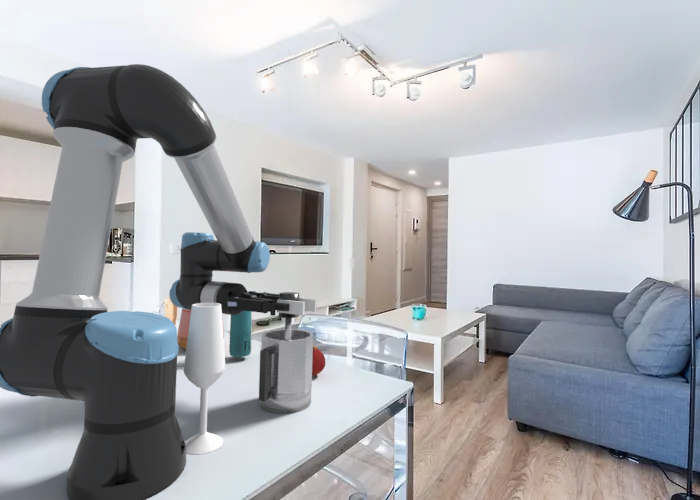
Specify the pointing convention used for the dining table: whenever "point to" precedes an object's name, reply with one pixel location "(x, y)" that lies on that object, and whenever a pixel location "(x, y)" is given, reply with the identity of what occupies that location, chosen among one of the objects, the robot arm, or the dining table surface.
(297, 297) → the plunger
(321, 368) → the onion
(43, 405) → the dining table surface
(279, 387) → the press pot
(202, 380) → the champagne flute
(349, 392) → the dining table surface
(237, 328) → the beverage bottle
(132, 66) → the robot arm
